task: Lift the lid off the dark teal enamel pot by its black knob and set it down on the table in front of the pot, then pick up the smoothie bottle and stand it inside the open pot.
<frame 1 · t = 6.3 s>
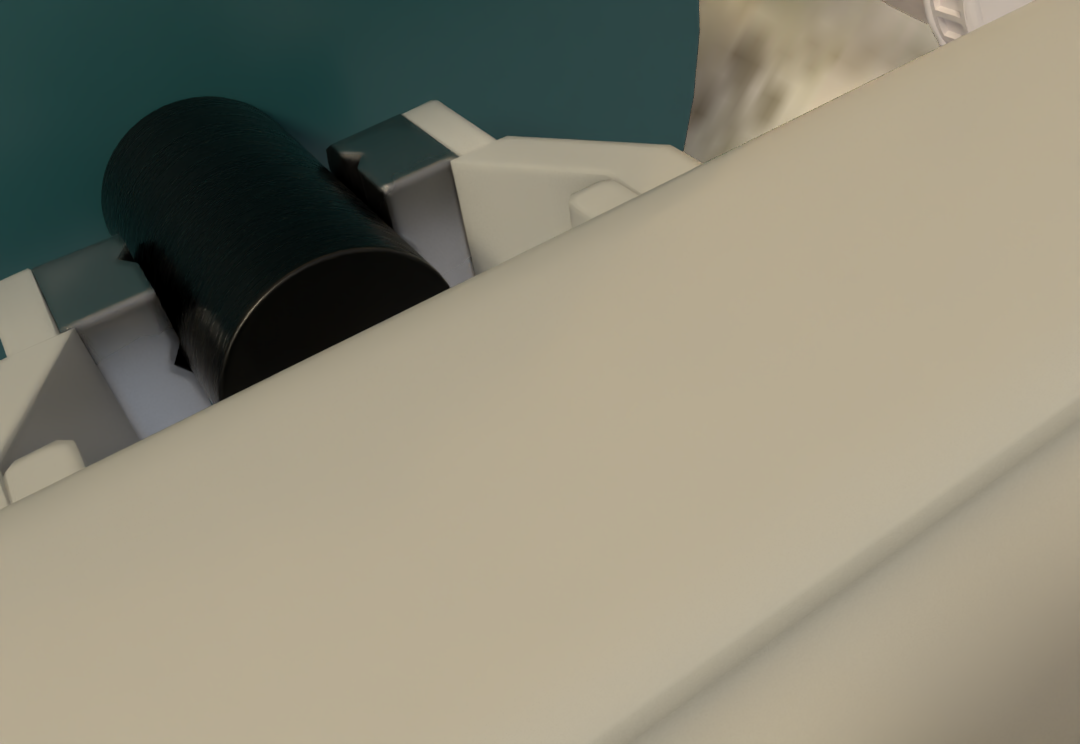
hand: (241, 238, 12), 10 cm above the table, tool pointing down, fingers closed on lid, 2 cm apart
lid: (192, 176, 13), point 8 cm above the table, touching gripper, pot
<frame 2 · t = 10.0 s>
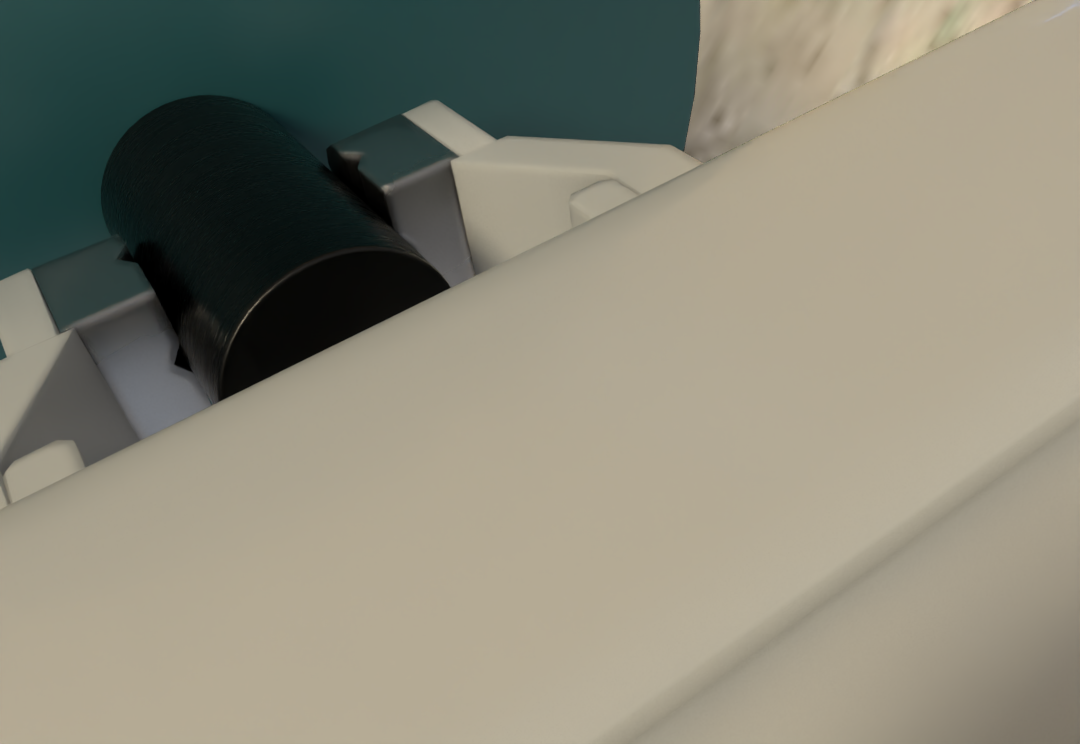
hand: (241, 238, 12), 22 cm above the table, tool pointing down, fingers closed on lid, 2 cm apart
lid: (192, 175, 13), point 20 cm above the table, touching gripper
when the fingers open (2 cm above the table, at t = 13.9 s): lid stays where it is, point 1 cm above the table.
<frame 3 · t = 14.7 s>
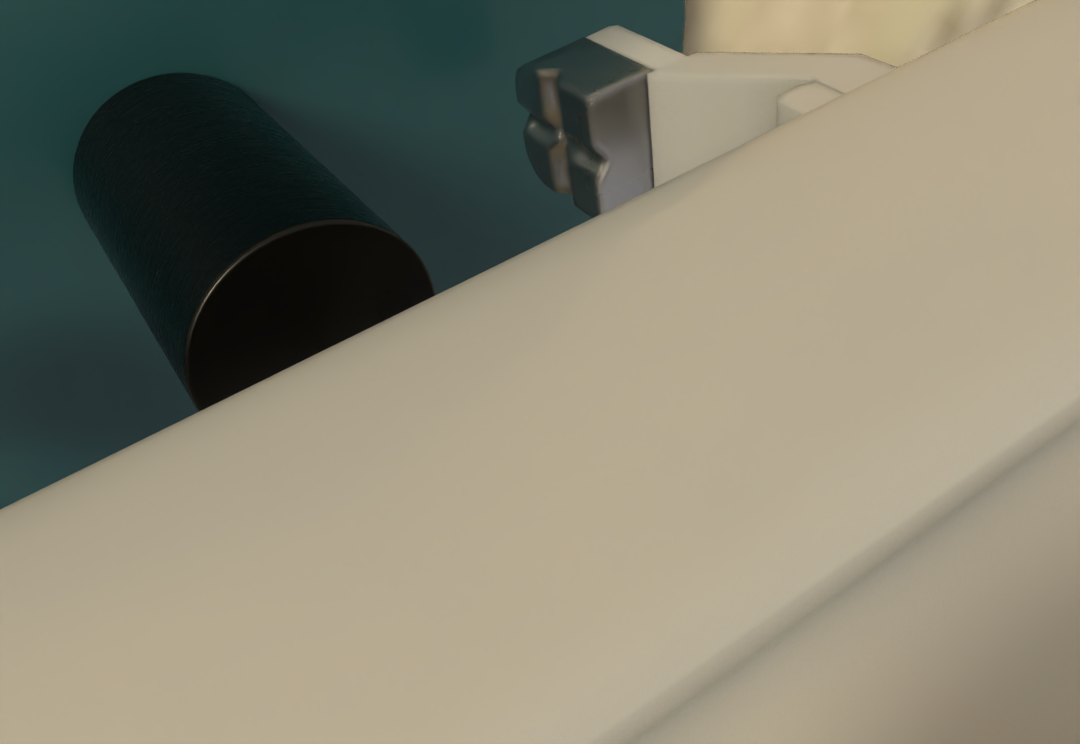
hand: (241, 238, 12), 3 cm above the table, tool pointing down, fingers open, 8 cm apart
lid: (168, 155, 13), point 1 cm above the table
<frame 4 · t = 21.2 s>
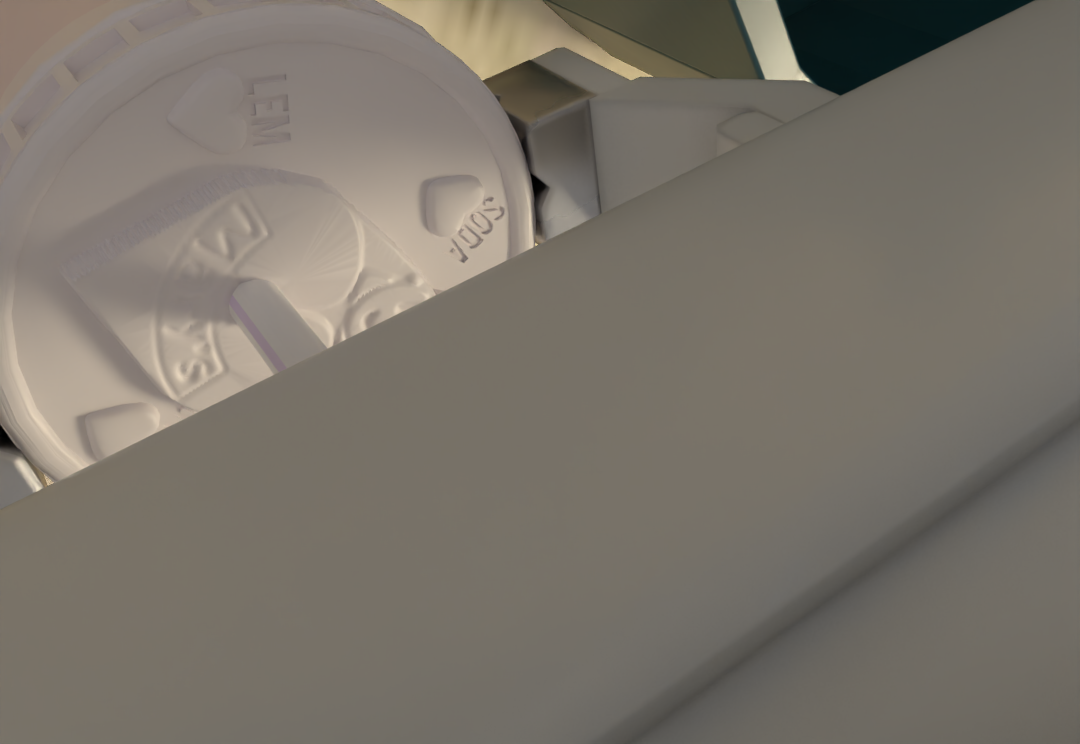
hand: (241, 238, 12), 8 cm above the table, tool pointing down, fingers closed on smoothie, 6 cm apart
smoothie: (84, 45, 17), on the table, touching gripper
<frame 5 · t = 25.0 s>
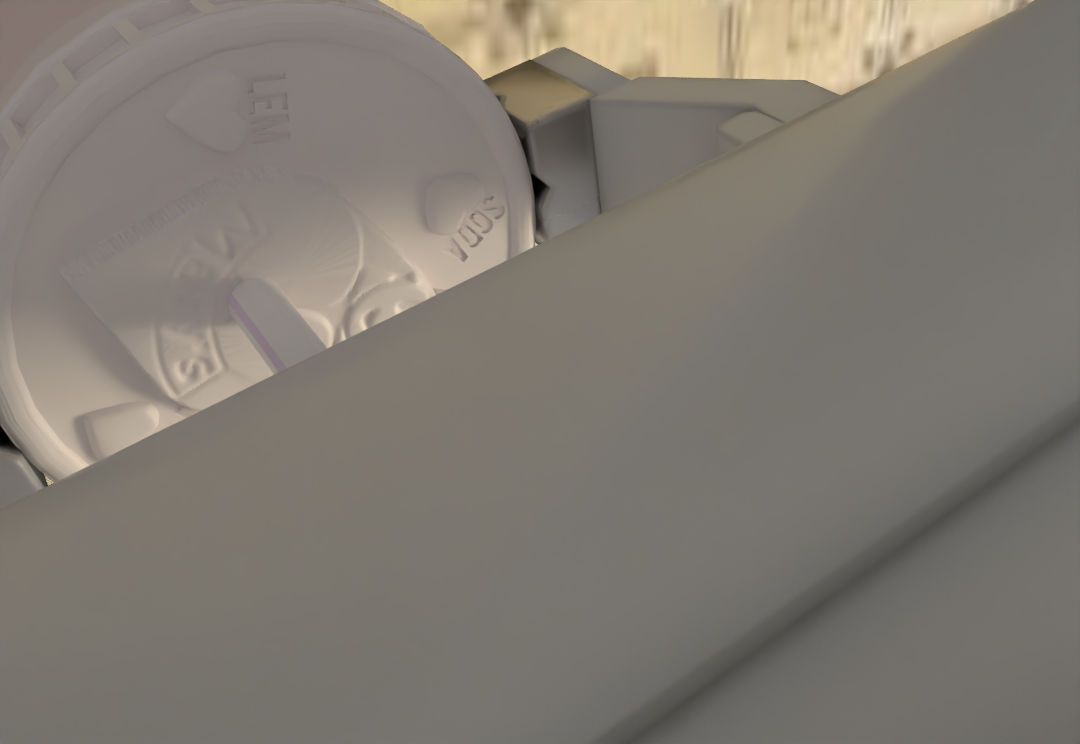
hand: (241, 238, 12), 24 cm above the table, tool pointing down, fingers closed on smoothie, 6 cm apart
smoothie: (84, 44, 17), point 15 cm above the table, touching gripper
when the fingers open (8 cm above the table, at t = 29.1 s): smoothie stays where it is, resting on pot.
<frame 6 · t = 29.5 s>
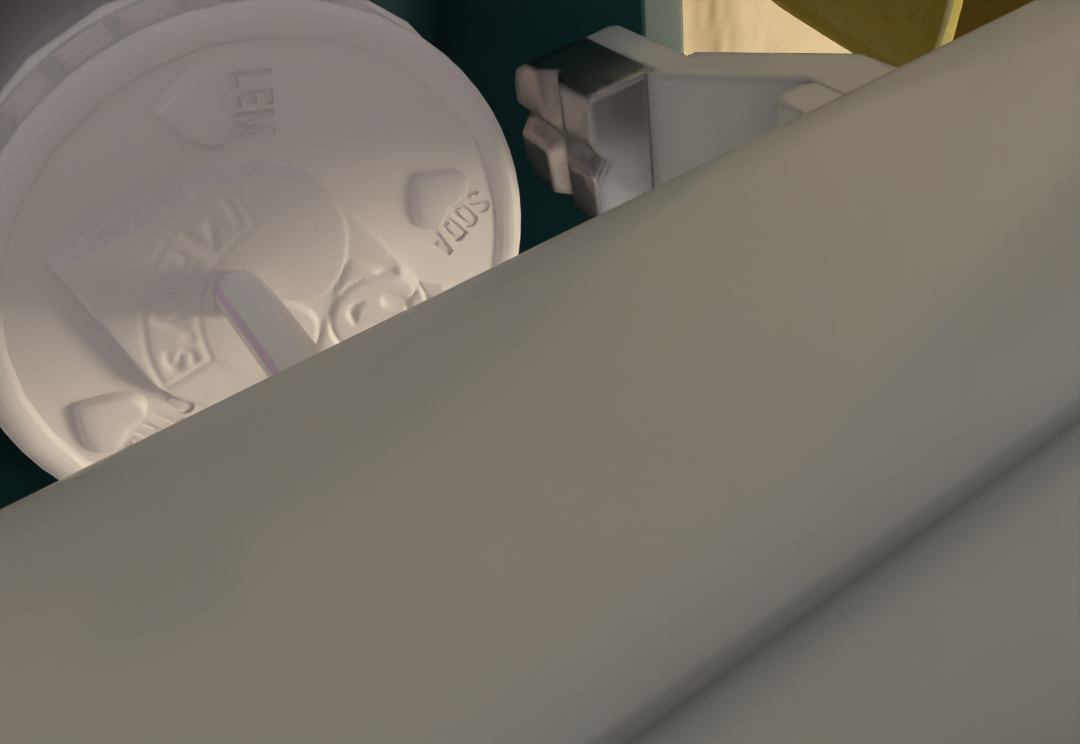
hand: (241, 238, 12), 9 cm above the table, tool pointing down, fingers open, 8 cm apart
smoothie: (80, 41, 18), resting on pot
pot: (76, 34, 18), on the table
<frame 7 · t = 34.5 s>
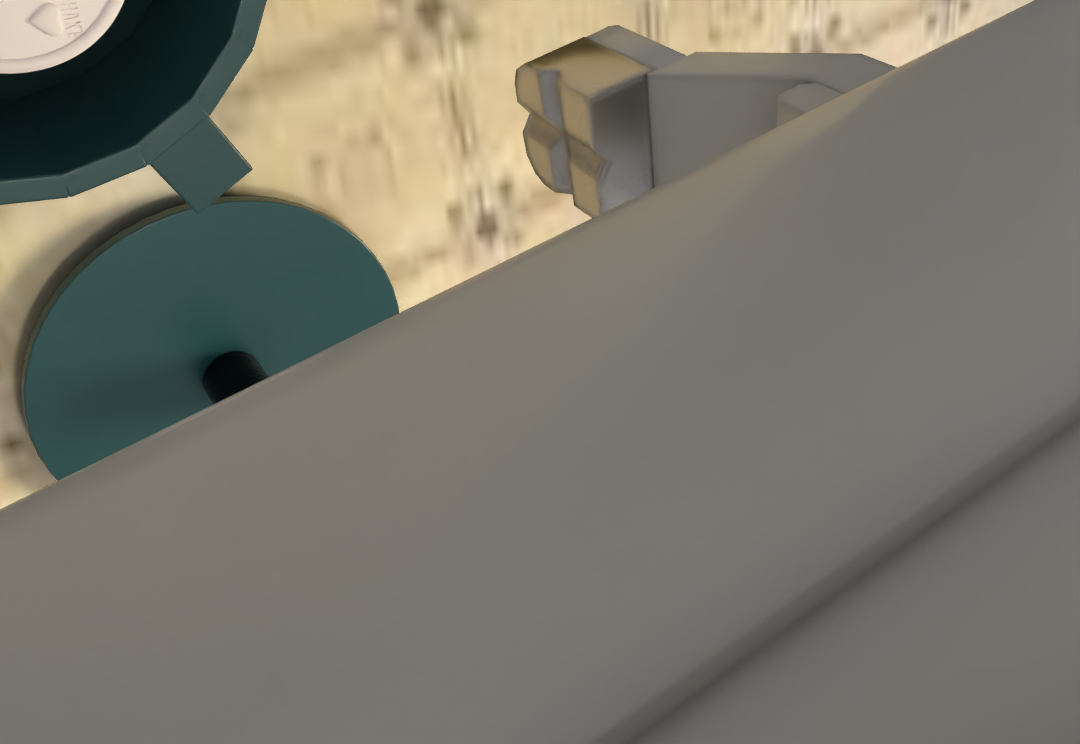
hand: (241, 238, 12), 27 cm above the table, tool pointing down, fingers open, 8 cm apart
lid: (227, 369, 44), point 1 cm above the table
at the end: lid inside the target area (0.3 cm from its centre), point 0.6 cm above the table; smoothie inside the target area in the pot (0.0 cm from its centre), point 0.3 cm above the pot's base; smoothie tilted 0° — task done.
